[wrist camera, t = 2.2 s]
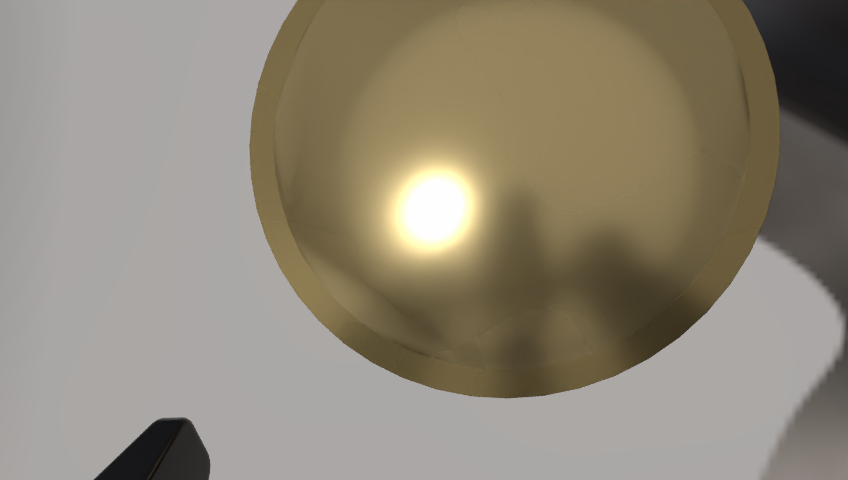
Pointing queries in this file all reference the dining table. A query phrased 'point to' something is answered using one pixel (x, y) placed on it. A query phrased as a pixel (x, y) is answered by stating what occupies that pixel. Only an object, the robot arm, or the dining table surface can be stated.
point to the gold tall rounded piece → (513, 179)
